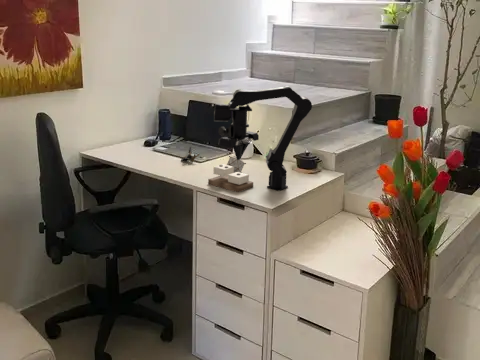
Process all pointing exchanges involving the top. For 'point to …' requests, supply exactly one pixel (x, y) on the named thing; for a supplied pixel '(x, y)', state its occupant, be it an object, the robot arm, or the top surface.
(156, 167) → the top surface
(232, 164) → the game die
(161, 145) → the top surface
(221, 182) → the brown flat slab
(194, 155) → the eagle figurine
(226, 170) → the tile two
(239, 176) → the tile one
